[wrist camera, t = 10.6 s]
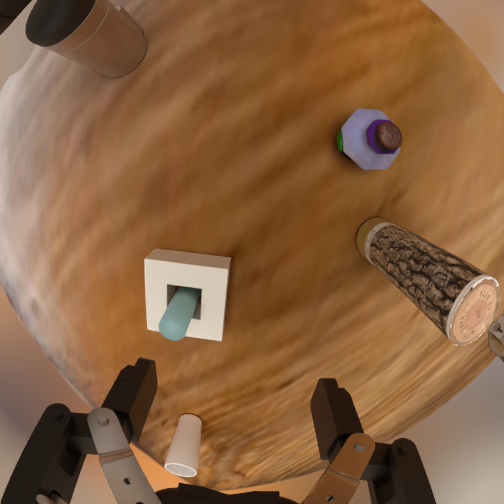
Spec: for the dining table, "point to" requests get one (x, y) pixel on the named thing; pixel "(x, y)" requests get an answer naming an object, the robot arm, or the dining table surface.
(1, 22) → the robot arm
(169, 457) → the drinking glass
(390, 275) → the paper tube
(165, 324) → the peg
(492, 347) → the coffee box
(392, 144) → the potion bottle
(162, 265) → the socket block
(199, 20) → the dining table surface
